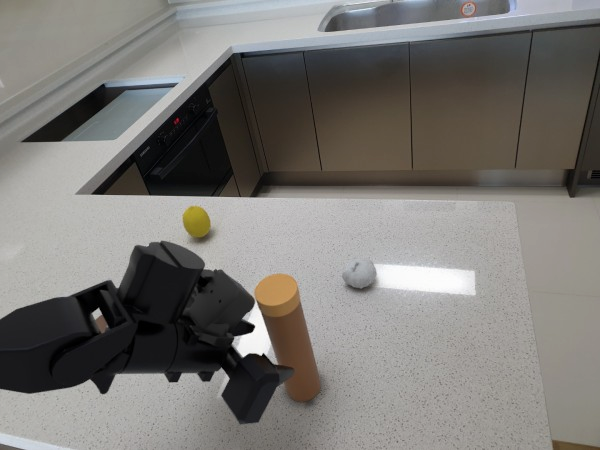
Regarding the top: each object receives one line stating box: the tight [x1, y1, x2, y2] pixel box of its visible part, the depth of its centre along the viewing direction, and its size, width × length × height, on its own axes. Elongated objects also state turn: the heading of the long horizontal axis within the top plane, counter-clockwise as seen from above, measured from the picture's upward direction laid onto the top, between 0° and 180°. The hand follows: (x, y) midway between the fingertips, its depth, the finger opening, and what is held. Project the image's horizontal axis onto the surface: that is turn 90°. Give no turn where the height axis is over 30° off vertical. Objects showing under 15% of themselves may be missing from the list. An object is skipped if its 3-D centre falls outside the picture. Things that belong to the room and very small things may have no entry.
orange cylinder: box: [253, 273, 322, 403], centre depth 60 cm, size 5×5×20 cm
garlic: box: [341, 257, 378, 289], centre depth 79 cm, size 6×5×5 cm
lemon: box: [182, 205, 212, 238], centre depth 97 cm, size 6×6×8 cm
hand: (272, 349), depth 58 cm, fingers open, 9 cm apart
